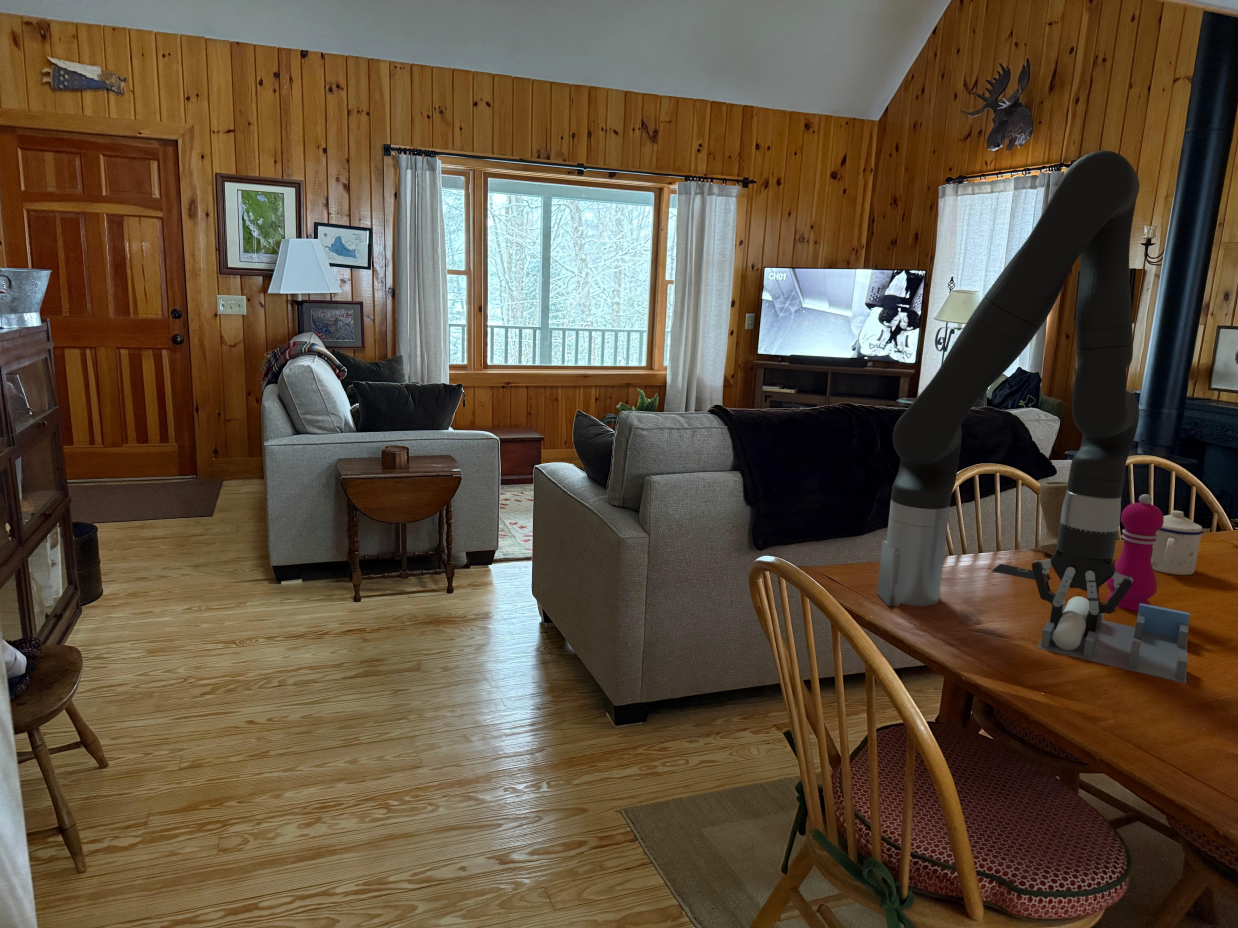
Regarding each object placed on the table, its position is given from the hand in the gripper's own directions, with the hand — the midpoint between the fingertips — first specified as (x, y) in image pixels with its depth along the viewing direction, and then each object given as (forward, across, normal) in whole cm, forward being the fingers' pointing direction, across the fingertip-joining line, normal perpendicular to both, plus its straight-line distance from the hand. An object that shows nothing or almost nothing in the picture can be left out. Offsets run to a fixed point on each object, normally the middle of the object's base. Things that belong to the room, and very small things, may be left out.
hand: (1072, 631), depth 127 cm
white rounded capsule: (0, 0, 0) cm, 0 cm away
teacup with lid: (+1, +11, +53) cm, 54 cm away
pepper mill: (+1, +6, +22) cm, 22 cm away
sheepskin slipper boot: (+2, -7, +52) cm, 53 cm away
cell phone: (+2, -12, +24) cm, 27 cm away
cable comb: (+1, +6, 0) cm, 6 cm away
